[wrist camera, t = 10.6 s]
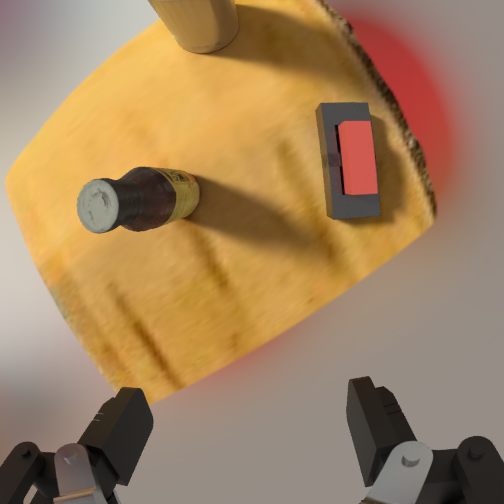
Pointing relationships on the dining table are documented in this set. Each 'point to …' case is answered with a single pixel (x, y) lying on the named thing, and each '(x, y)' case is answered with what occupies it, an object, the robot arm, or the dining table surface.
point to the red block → (357, 157)
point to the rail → (335, 196)
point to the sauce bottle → (138, 200)
